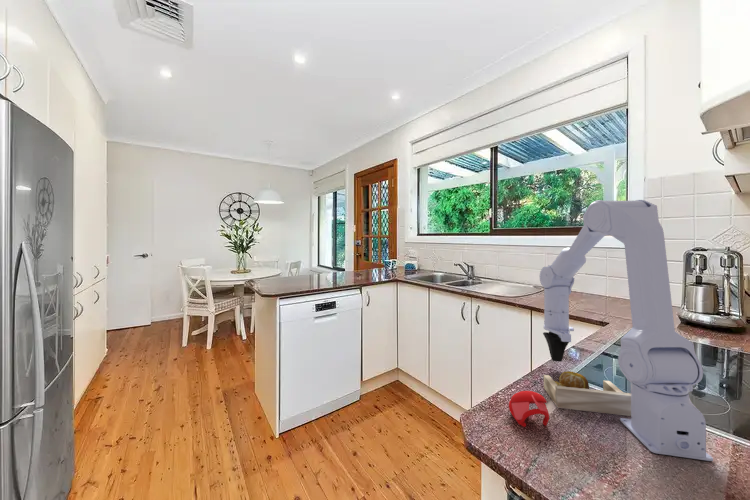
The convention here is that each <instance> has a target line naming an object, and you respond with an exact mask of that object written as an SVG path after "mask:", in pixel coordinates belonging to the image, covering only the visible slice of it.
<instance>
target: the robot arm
mask: <svg viewBox="0 0 750 500" xmlns="http://www.w3.org/2000/svg"><path fill="white" fill-rule="evenodd" d="M582 216H583V217H582V220H583V226H582V228H581V229H580V231H579V233H578V234H577V236H576V238H575V239H574V240H573V242H572V244H571V245H570V247H565V248H562V249H561V251H560V252H559V253H558V255H557V256H556V258H555V259H554V261H553V262H552V263H551V265H549V264H548V265H547V266H543V267H541V270H540V271H539V281H540V285H541V286H542V287H543V289H544V291H543V292H544V293H543V295H544V297H543V298H544V299H543V300H544V302H543V304H544V311H543V313H544V314H543V315H544V319H543V330H546V331H548V332H542V334H543V336H544V338H545V340H546V344H547V346H548V350H549V355H550V359H551V360H552V361H553V362H562V361H563V357H564V355H565V351H566V348H567V346H568V344H569V343H572V334H571V333H570V332H574V330H575V329H574V327H572V326H570V300H569V299H570V295H571V294H572V287H573V285H574V283H575V277H574V276H575V275H576V274H577V273H578V272H579V271H580V269H582V267H583V266H585V264H586V262H587V257H586V255H587V254H588V253H589V252H590V251H591V250H592V249H593V248H594V247H595V246H596V245H597V244H598V243H599V242H601V240H602V239H603V238H604V237H605V236H612V237H613V238H614V239H616V240H617V241H618V242H619V241H620V242H621V243H622V244H623V245H624V251H625V252H624V253H625V261H626V262H625V263H626V273H627V284H628V295H629V303H630V304H629V305H630V313H631V315H630V316H631V324H632V327H631V328H630V330H629V331H627V332H626V333H625V334H623V336H622V337H621V338H620V349H619V350H620V351H619V353H618V357H617V359H618V360H617V361H618V366H619V369H620V371H621V373H622V374H623V375H624V377H625V378H626V380H627V381H628V382H630V393H631V416H630V418H625V417H620V418H619V421H620V422H621V423H622V424H623V425H624V426H625V427H626V428H627V429H628V430H629V431H630V432H631V433H632V434H633V435H634V436H635V438H637V439H638V441H640V442H641V443H642V444H643V445H644V446H645V447H646V448H647V449H648V451H650V452H651V453H653V454H657V455H658V454H659V455H664V456H665V455H666V456H671V457H672V456H673V457H680V458H685V459H686V458H687V459H694V460H701V461H707V462H713V461H714V458H713V456H712V455H710V454H708V453H707V429H706V428H707V424H706V419H705V416H704V414H703V413H702V411H701V410H700V409H698V408H697V407H696V406H695V405H694V403H693V402H692V400H691V399H690V394H689V392H693V390H694V388H693V386H694V385H698V384H699V383H701V381H702V379H703V376H704V368H703V365H702V363H701V361H700V359H699V358H698V356H697V354H696V352H695V346H694V342H692V341H691V340H689V339H688V338H686V337H684V336H683V335H681V334H680V333H678V332H677V331H676V328H675V320H674V310H673V303H672V302H673V301H672V294H671V293H672V291H671V285H670V276H669V268H668V259H667V250H666V249H667V248H666V240H665V233H664V228H663V227H662V224H661V223H660V221H659V210H658V206H657V205H656V204H654V203H652V202H650V201H647V200H645V199H636V200H603V199H597V200H594V201H592V202H591V203H590V204H589V205H588V207H587V208H586V210H585V212H584V214H583V215H582Z"/></svg>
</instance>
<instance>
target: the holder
mask: <svg viewBox="0 0 750 500" xmlns="http://www.w3.org/2000/svg"><path fill="white" fill-rule="evenodd" d="M554 381H555V380H554V379H553V378H552V377H551V376H550V374H549V375H548V374H543V389H544V390H545V392H546V393H547V395H549V397H550V399H551V401H552V402H553V403H554V404H555V406H556V408H558V409H567V410H575V411H584V412H593V413H600V414H601V413H602V414H607V415H618V416H626V417H631V392H630V393H629V392H623V391H622V390H621V389H620V388H619V387H617V385H615V384H614V383H612V381H610V380H602V390H601V389H592V388H591V389H590V388H589V389H583V388H573V387H563V386H557V384H556V383H555V382H554Z"/></svg>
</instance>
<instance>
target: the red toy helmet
mask: <svg viewBox="0 0 750 500" xmlns="http://www.w3.org/2000/svg"><path fill="white" fill-rule="evenodd" d="M547 402H548V401H547V400H546V398H545V397H544V396H543V395H542V394H540V393H539V392H536V391H532V390H521V391H517V392H516V393H514V394H513V395H512V396H511V397H510V400H509V402H508V409H509V411H510V414H511V416H512V417H513V418H514V420H515V421H516V422H517V424H518V425H520V426H521V427H523V428H526V426H527V423H526V419H527V418H528V417H529V418H530V417H531V416H534V415H542V416H544V417H543V420H542V425H543V426H544V427H546V426H547V425H548V423H549V420H550V414H549V411H548V408H547V405H546V404H547ZM531 404H533V405H536V408H532V409H530V405H531Z"/></svg>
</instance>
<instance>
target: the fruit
mask: <svg viewBox="0 0 750 500" xmlns="http://www.w3.org/2000/svg"><path fill="white" fill-rule="evenodd" d="M558 380H559V381H557V380H556V381H555V380H553V381H554V382H555V383H556V384H557V386H563V387H573V388H583V389H590V385H589V380H588V379H587V378H586V377H585V376H584V375H583V374H581V373H578V372H575V371H563V372H562V373H561V374H560V376H559V377H558Z"/></svg>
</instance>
